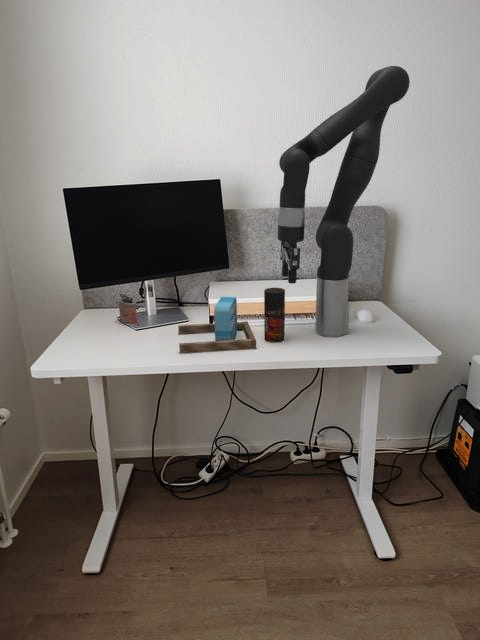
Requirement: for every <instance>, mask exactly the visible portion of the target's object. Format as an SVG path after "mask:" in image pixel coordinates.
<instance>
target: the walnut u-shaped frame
mask: <svg viewBox="0 0 480 640" xmlns="http://www.w3.org/2000/svg"><path fill="white" fill-rule="evenodd" d="M177 328H178V335H181V336H182V335H197V334H212V333H213V334H215V322H213V323H197V324H194V323H193V324H183V325H181V324H179V325H178V326H177ZM237 332H243V334H244V335H245V337H246V338H245V339H244V338H243V339H242V338H241V339H234V340H225V341H215V340H213V341H197V342H196V341H195V342H194V341H193V342H180V343H178V346H179V354H181V355H182V354H195V353H199V354H200V353H210V352H211V353H212V352H227V351H243V350H256V349H257V339H256V337H255V334H254V332H253V330H252V328H251V326H250V324H249V322H248V321H247V320H246V321H237Z"/></svg>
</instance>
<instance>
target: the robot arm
mask: <svg viewBox="0 0 480 640" xmlns="http://www.w3.org/2000/svg"><path fill="white" fill-rule="evenodd" d="M366 82H367V83H366V85H365V89H364V91H363V92H362V94H360V95H359V96H358V97H356V98H355V99H353V100H352V101H351V102H350V103H348V104H347V105H346V106H344V107H342V108H341V109H339V110H338V111H336V112H335V113H333V114H331V115H330V116H329V117H328V118H326V119H325V120H324V121H322V122H321V123H320V124H319V125H317V126H316V127H315V128H314V129H312V130H311V131H310V133H308V134H307V135H306V136H304V137H303V138H302V139H300V140H299V141H297V142H296V143H294V144H293V145H291V146H290V147H288V148H287V149H286V150H285V151H284V152H283V153H282V154H281V156H280V158H279V163H278V165H279V169H280V170H281V171H282V173H283V183H282V186H281V188H280V193H279V207H278V208H279V210H278V215H277V238H276V239H277V240H278V241H279V242H280V257H279V259H280V261H281V265H282V267H281V276H282V277H287V282H288V284H290V285H291V284H296V283H297V271H298V270H300V268H301V267H300V264H301V261H300V259H301V248H300V247H298V245H297V244H298V243H301V242H303V241H304V240H305V227H306V225H305V222H306V211H305V210H306V209H305V207H306V188H307V184H308V180H309V174H310V167H311V166H310V164H311V163H312V162H313V161H314V160H316V159H317V158H321V157H322V156H324V155H326V154H327V153H328V152H330V151H331V150H332V149H334V148H335V147H336V146H337V145H338V144H339V143H341V142H342V141H343V140H344V139H346V138H347V137H348V136H349V135H350V134H351V136H350V139H349V141H348V145H347V147H346V150H345V152H344V155H343V158H342V161H341V164H340V167H339V169H338V173H337V178H336V181H335V183H334V185H333V189H332V193H331V196H330V199H329V202H328V205H327V207H326V210H325V212H324V214H323V215H322V218H321V221H320V223H319V224H318V226H317V228H316V232H315V242H316V245H317V247H319V249H320V250H321V251H320V263H319V266H317V269H316V297H315V298H316V300H315V327H314V328H315V329H314V330H315V332H314V333H316V334H318V335H319V336H321V337H329V338H332V337H333V338H335V337H341V336H343V335H349V326H350V325H349V323H350V303H349V302H348V295H349V277H350V276H349V275H350V271H351V269H352V263H353V253H354V235H353V232H352V230H351V229H350V227H348V223H349V221H350V218H351V214H352V212H353V209H354V207H355V206H356V204H357V202H358V200H359V199H360V198H361V197H362V196H363V193H364V192H365V190H366V189H367V188H368V186H369V184H370V182H371V180H372V177H373V175H374V172H375V169H376V166H377V164H378V160H379V156H380V148H381V133H382V128H383V124H384V121H385V118H386V116H387V114H388V111H389V109H390V107H391V106H392V105H394V104H395V103H398V102H399V101H401V100H402V99H404V97H405V96H406V95H407V92H408V91H409V87H410V77H409V73H408V71H406V70H405V69H404V68H403V67H401V66H397V65H390V66H388V65H387V66H385V67H383V68H380V69H378V70H375V72H373V73H372V74H371V75H370V76H369V78H368V80H367V81H366ZM293 264H294V265H293Z"/></svg>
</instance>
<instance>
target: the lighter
mask: <svg viewBox="0 0 480 640" xmlns="http://www.w3.org/2000/svg"><path fill="white" fill-rule="evenodd" d="M119 297H120V298H119V299H118V300H117V303H118V308H119V311H118V312H119V323H121V324H122V325H125V326H127V325H126V324H137V323H138V324H139V322H138V315H137V314H138V313H137V302H136V301H134V299H133V298H134V297H133V295H131V293H124V292H120V293H119Z"/></svg>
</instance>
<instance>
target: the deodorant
mask: <svg viewBox="0 0 480 640" xmlns="http://www.w3.org/2000/svg"><path fill="white" fill-rule="evenodd" d="M263 292H264V293H263V294H264V295H263V296H264V297H263V300H264V302H263V303H264V305H263V307H264V308H263V309H264V310H263V311H264V313H263V314H264V316H263V319H264V322H263V323H264V324H263V325H264V329H263V330H264V332H263V333H264V335H263V336H264V337H263V338H264V339H263V340H264V341H265V342H267V343H271V344H277V343H278V344H279V343H282V342H284V341H285V334H286V333H285V330H286V329H285V328H286V327H285V320H286V319H285V318H286V316H285V315H286V313H285V312H286V311H285V309H286V308H285V307H286V301H285V300H286V290H285V288H283V287H268V288H265V289H264V291H263Z"/></svg>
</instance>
